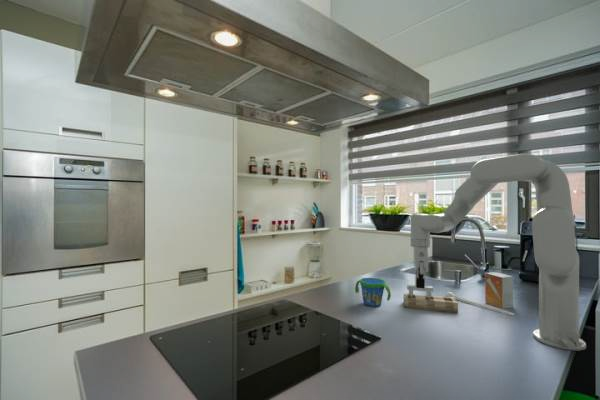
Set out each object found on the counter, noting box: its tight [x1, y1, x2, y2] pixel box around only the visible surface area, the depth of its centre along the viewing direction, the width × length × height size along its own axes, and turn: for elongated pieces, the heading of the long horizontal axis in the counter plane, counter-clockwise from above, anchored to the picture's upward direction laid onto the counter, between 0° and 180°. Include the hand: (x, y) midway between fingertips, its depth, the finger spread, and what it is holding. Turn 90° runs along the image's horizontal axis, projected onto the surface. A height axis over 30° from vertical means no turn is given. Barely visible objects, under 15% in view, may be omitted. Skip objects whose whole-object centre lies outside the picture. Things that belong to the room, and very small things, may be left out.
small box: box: [484, 271, 514, 310], centre depth 127 cm, size 8×6×13 cm
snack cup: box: [354, 277, 392, 308], centre depth 127 cm, size 16×10×10 cm
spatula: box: [445, 291, 516, 317], centre depth 127 cm, size 28×4×3 cm, turn 33°
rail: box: [403, 292, 459, 314], centre depth 123 cm, size 7×20×4 cm, turn 73°
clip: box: [406, 275, 434, 299], centre depth 125 cm, size 3×10×9 cm, turn 74°
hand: (419, 286), depth 125 cm, fingers closed on clip, 3 cm apart
